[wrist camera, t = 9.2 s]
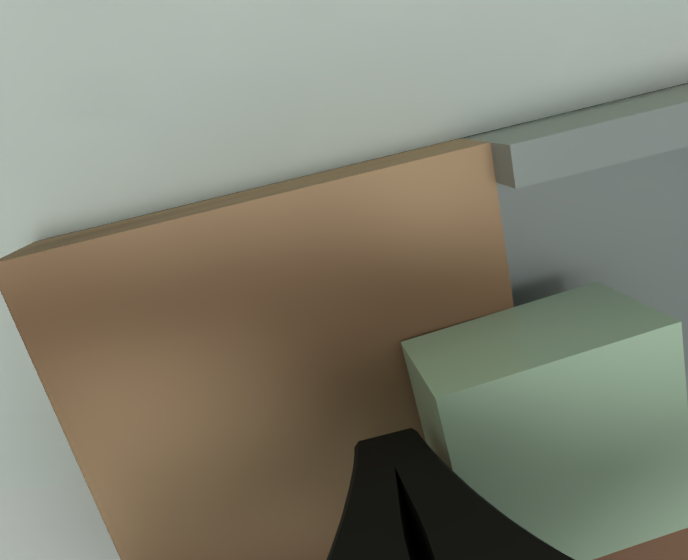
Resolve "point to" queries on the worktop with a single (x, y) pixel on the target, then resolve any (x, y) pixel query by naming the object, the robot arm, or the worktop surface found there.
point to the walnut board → (254, 344)
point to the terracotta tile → (655, 549)
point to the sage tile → (563, 416)
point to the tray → (599, 201)
